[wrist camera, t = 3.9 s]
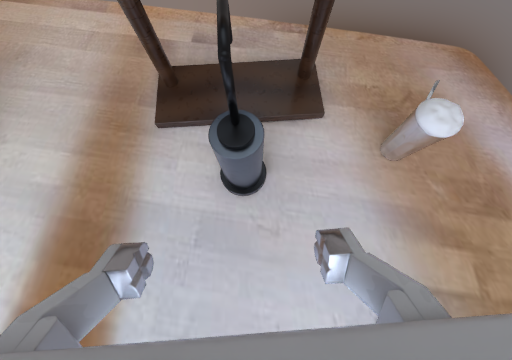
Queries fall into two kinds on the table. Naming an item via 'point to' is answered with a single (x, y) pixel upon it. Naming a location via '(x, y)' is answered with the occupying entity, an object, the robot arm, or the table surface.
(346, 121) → the table surface
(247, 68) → the rack
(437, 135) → the milkshake
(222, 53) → the dark cylindrical piece
